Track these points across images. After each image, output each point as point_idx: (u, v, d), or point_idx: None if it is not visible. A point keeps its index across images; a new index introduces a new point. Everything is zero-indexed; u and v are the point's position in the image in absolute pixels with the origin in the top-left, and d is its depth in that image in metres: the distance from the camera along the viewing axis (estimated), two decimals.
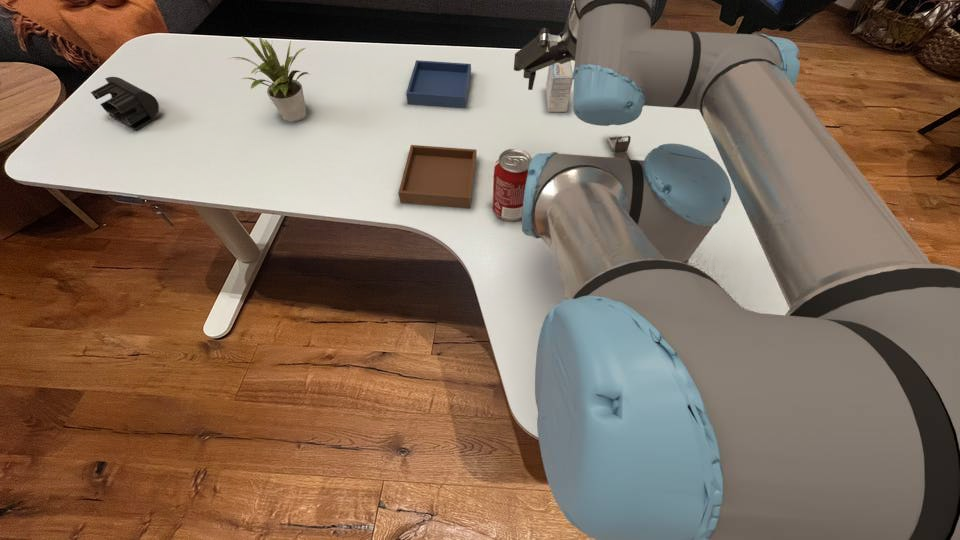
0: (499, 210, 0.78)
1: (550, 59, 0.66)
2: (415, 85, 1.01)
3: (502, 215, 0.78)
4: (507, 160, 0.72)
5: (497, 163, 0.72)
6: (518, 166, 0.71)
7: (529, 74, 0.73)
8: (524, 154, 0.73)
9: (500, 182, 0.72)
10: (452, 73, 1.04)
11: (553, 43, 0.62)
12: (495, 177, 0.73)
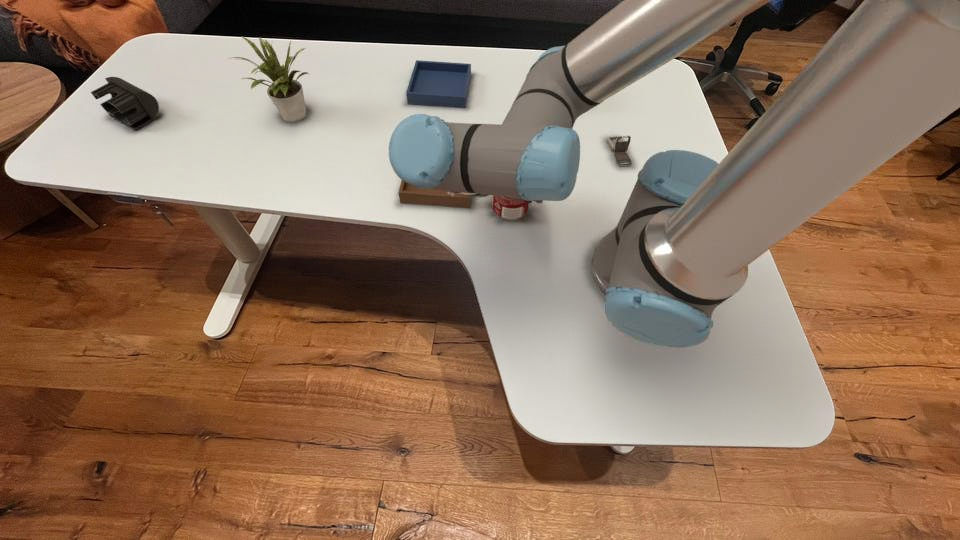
0: (499, 210, 0.78)
1: None
2: (415, 85, 1.01)
3: (502, 215, 0.78)
4: None
5: None
6: None
7: None
8: None
9: None
10: (452, 73, 1.04)
11: None
12: None
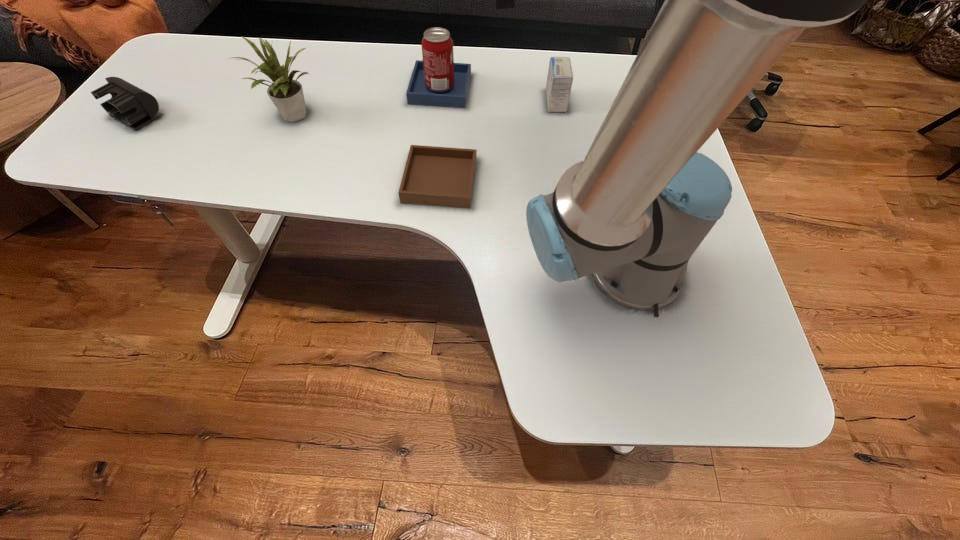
0: (429, 83, 0.98)
1: None
2: (415, 85, 1.01)
3: (431, 87, 0.98)
4: (430, 35, 0.92)
5: (423, 38, 0.92)
6: (439, 39, 0.91)
7: None
8: (444, 31, 0.93)
9: (425, 52, 0.92)
10: None
11: None
12: (422, 50, 0.93)
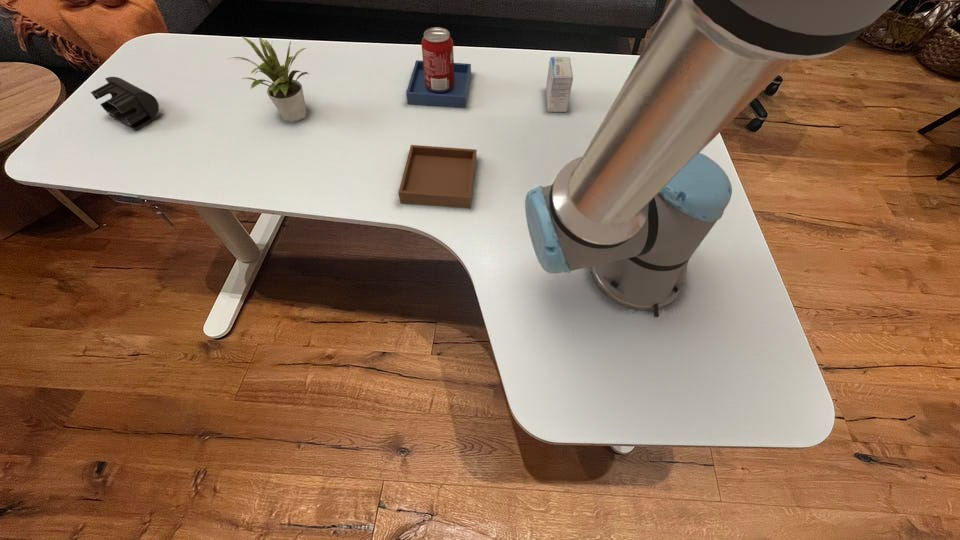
0: (429, 83, 0.98)
1: None
2: (415, 85, 1.01)
3: (431, 87, 0.98)
4: (430, 35, 0.92)
5: (423, 38, 0.92)
6: (439, 39, 0.91)
7: None
8: (444, 31, 0.93)
9: (425, 52, 0.92)
10: None
11: None
12: (422, 50, 0.93)
